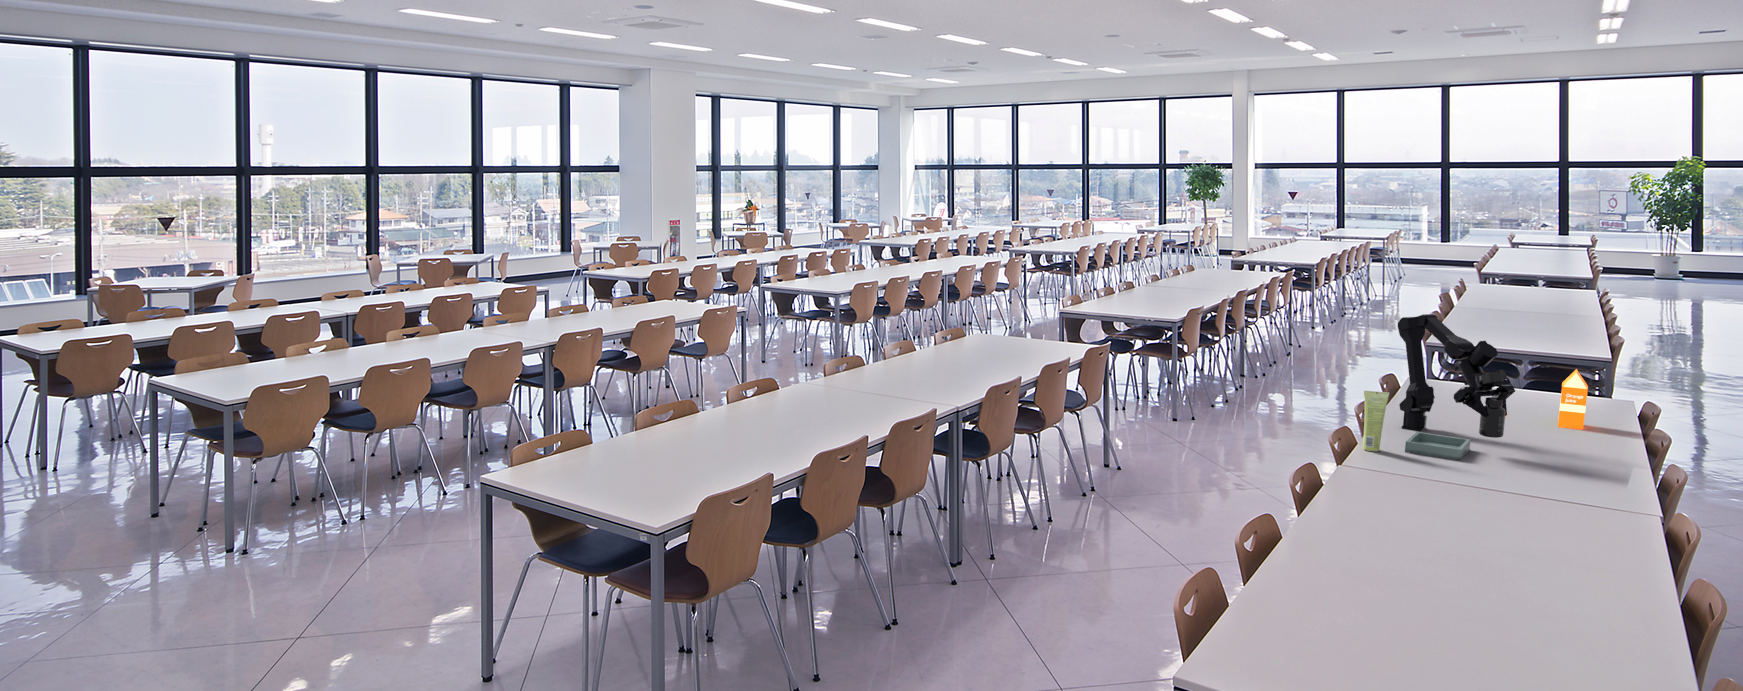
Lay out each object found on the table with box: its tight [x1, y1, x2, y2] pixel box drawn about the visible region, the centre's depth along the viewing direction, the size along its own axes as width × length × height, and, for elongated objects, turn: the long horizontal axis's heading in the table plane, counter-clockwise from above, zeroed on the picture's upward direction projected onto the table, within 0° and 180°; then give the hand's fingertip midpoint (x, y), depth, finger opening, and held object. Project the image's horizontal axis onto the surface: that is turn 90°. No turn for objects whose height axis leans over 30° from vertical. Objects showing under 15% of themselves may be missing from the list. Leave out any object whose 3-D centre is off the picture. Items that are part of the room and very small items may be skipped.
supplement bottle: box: [1478, 396, 1506, 439], centre depth 344 cm, size 7×7×12 cm
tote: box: [1404, 431, 1472, 461], centre depth 351 cm, size 16×16×4 cm
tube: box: [1362, 390, 1390, 452], centre depth 351 cm, size 6×5×20 cm
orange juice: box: [1557, 368, 1589, 431], centre depth 383 cm, size 8×9×20 cm
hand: (1496, 416), depth 343 cm, fingers closed on supplement bottle, 7 cm apart
